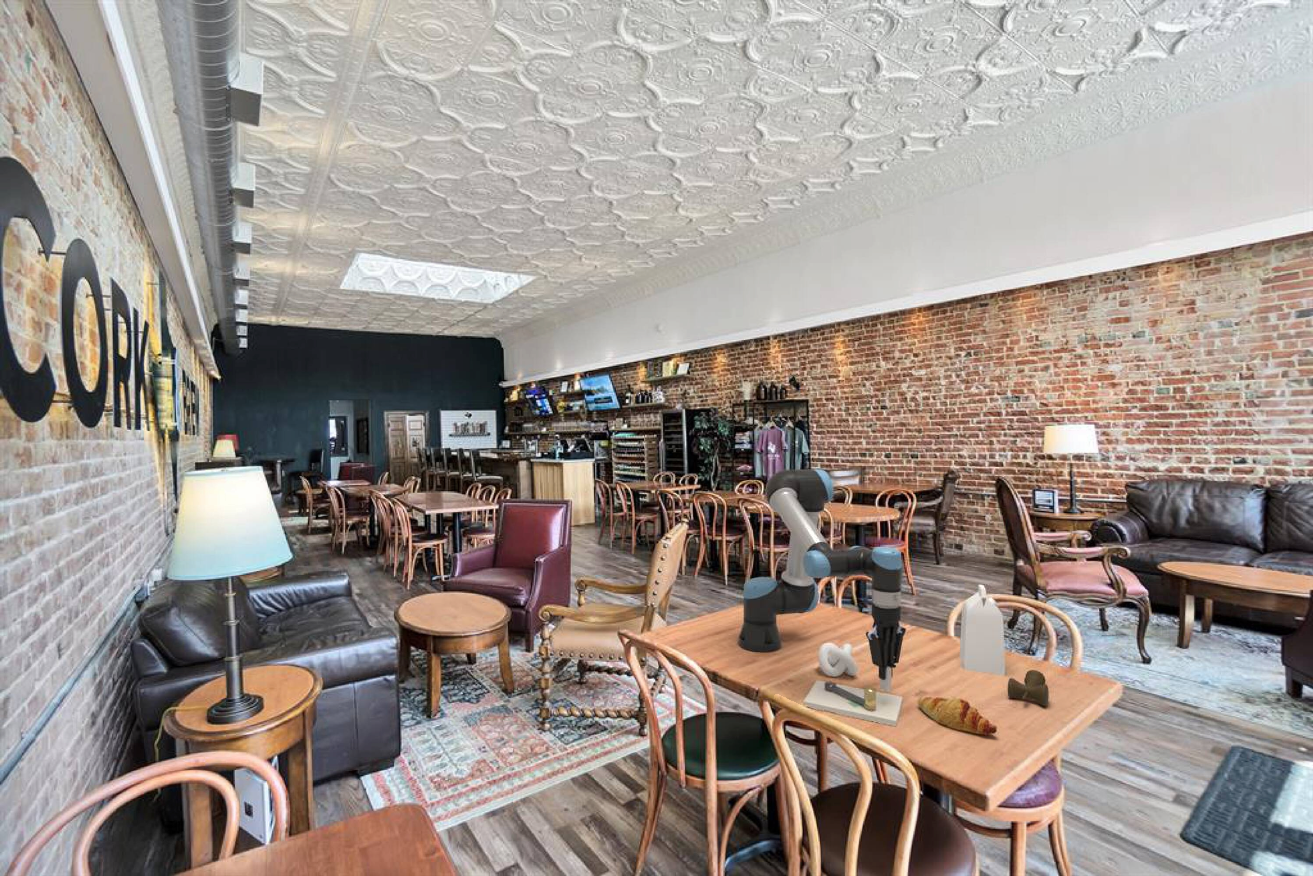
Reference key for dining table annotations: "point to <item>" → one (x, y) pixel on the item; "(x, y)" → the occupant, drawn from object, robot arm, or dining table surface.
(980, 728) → the croissant
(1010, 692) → the kendama
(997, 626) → the milk
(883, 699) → the board
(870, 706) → the grey crank handle
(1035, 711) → the dining table surface
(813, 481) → the robot arm
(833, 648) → the white knot sculpture
